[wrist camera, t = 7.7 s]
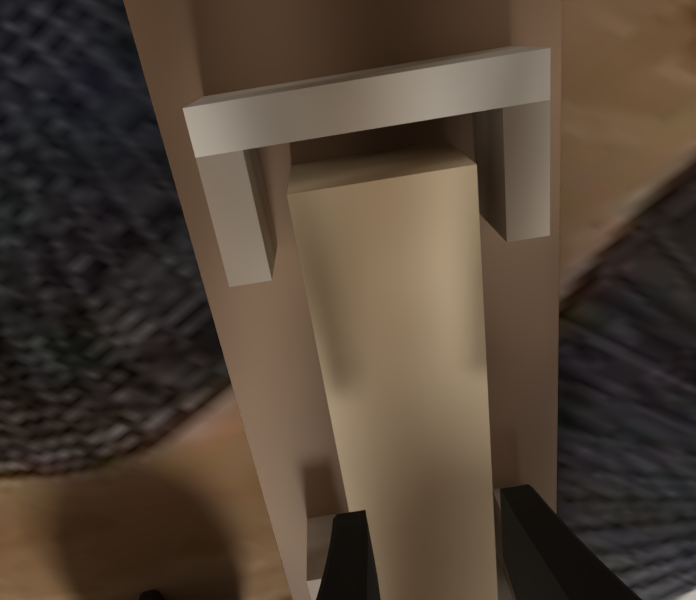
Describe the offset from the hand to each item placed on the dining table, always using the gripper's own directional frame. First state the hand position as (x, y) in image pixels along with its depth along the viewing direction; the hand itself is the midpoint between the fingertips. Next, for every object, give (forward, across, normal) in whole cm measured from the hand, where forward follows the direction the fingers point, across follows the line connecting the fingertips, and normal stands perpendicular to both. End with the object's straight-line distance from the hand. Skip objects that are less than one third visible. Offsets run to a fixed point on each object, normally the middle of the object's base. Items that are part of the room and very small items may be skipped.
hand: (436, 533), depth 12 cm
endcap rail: (+7, 0, 0) cm, 7 cm away
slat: (+6, 0, 0) cm, 6 cm away
